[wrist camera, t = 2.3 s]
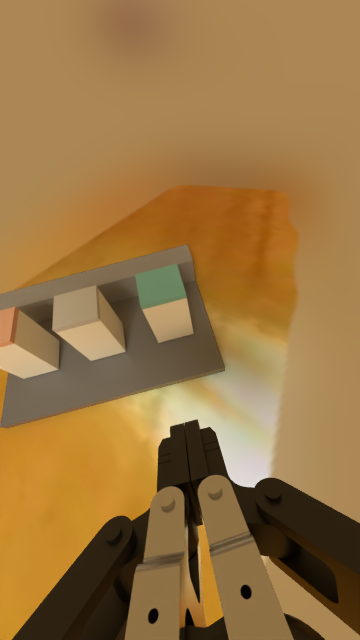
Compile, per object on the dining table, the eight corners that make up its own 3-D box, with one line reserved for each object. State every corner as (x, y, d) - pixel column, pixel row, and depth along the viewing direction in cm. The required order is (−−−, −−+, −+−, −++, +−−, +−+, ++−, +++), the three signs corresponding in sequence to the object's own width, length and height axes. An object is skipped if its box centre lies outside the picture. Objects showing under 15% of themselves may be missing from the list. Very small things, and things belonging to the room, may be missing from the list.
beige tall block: (91, 360, 30) (52, 329, 23) (90, 332, 32) (54, 296, 25) (126, 351, 30) (97, 317, 23) (122, 324, 32) (95, 285, 25)
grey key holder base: (6, 428, 29) (-31, 422, 24) (21, 314, 37) (-5, 295, 33) (224, 370, 29) (225, 354, 24) (191, 269, 37) (187, 244, 32)
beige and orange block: (23, 378, 30) (-36, 353, 23) (26, 349, 32) (-27, 317, 25) (58, 369, 30) (9, 341, 23) (59, 340, 32) (15, 306, 25)
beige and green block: (158, 342, 30) (140, 306, 23) (153, 315, 32) (134, 274, 25) (193, 333, 30) (186, 294, 23) (186, 307, 32) (176, 263, 25)
